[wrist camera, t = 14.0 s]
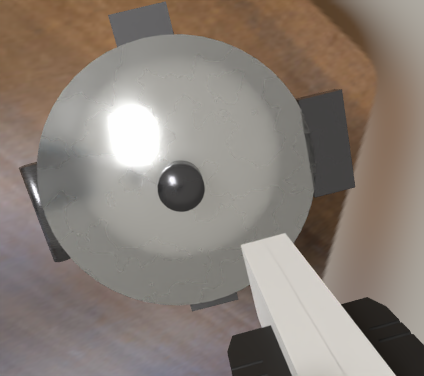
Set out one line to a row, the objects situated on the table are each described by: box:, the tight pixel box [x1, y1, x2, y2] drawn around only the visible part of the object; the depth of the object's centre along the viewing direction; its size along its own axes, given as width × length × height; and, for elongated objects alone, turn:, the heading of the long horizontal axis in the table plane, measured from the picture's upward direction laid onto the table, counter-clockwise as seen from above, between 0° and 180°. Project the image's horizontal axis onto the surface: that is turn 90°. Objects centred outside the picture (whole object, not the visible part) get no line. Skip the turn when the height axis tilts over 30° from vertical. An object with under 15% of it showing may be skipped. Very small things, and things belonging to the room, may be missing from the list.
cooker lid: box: [19, 34, 355, 305], centre depth 27 cm, size 22×19×4 cm
